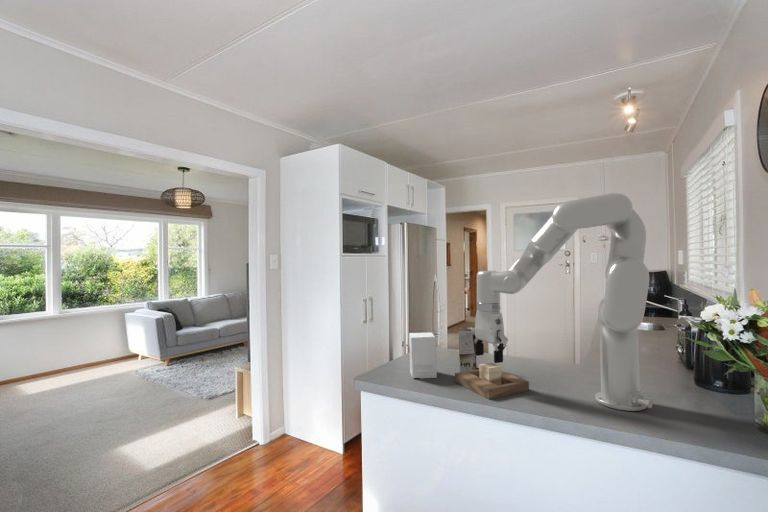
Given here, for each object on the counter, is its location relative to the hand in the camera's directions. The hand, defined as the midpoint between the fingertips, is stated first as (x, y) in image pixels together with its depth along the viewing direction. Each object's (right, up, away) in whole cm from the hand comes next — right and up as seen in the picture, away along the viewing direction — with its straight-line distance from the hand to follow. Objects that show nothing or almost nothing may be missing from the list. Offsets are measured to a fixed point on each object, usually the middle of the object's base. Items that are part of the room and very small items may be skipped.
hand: (488, 358), depth 125 cm
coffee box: (-3, -10, +18) cm, 21 cm away
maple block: (0, -9, 0) cm, 9 cm away
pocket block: (0, -9, 0) cm, 9 cm away
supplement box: (-21, -10, +14) cm, 27 cm away
